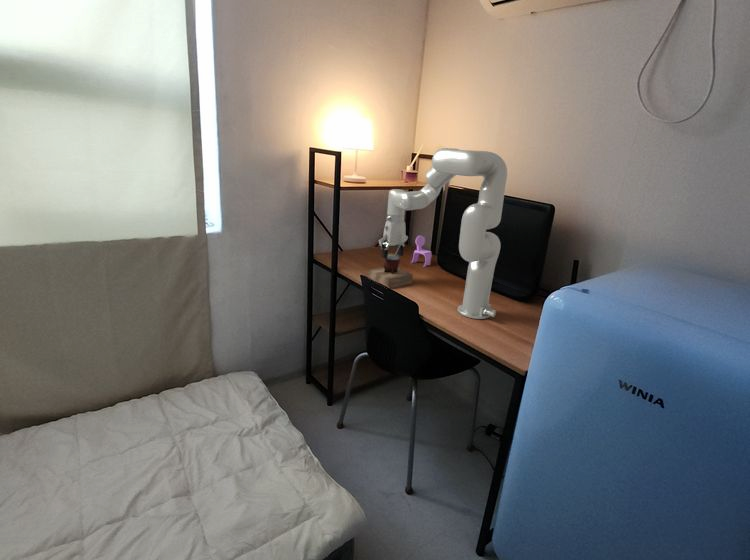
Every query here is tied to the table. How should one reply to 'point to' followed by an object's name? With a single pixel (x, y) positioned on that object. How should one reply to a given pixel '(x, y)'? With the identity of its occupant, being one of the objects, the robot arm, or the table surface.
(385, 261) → the mate gourd
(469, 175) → the robot arm
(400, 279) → the cardboard box
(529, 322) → the table surface
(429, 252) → the toy chair
